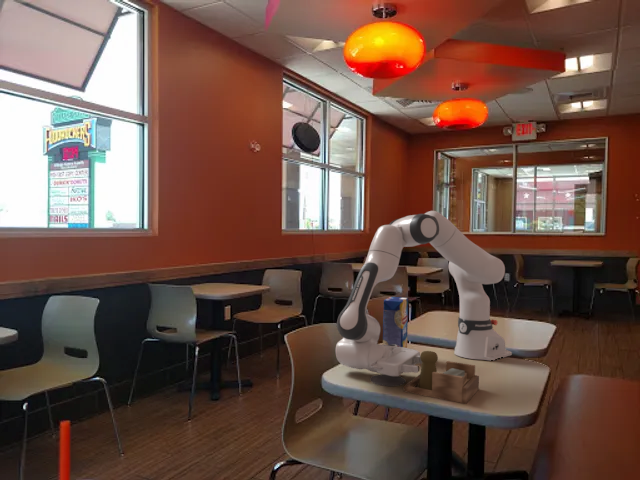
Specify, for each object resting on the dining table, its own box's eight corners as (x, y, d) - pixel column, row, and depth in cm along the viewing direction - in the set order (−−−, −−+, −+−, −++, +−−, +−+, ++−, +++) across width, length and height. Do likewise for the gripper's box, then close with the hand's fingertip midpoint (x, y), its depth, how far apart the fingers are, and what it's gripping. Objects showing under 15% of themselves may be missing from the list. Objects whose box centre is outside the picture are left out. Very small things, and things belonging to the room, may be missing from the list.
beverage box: (407, 355, 185) (408, 297, 185) (401, 362, 175) (402, 301, 174) (389, 353, 188) (390, 296, 187) (382, 360, 177) (383, 300, 177)
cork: (435, 384, 150) (436, 349, 150) (440, 391, 144) (441, 354, 144) (416, 384, 150) (416, 349, 150) (420, 390, 144) (421, 354, 144)
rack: (403, 391, 144) (403, 367, 143) (420, 378, 156) (421, 356, 156) (465, 403, 134) (466, 378, 134) (478, 389, 147) (479, 366, 147)
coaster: (391, 373, 161) (391, 372, 161) (412, 383, 151) (412, 382, 151) (363, 378, 156) (363, 377, 156) (384, 388, 146) (384, 387, 146)
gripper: (368, 356, 146) (412, 363, 139) (394, 343, 164) (434, 348, 157) (368, 377, 146) (411, 385, 139) (394, 361, 164) (434, 368, 157)
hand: (424, 365), depth 148 cm, fingers open, 8 cm apart
